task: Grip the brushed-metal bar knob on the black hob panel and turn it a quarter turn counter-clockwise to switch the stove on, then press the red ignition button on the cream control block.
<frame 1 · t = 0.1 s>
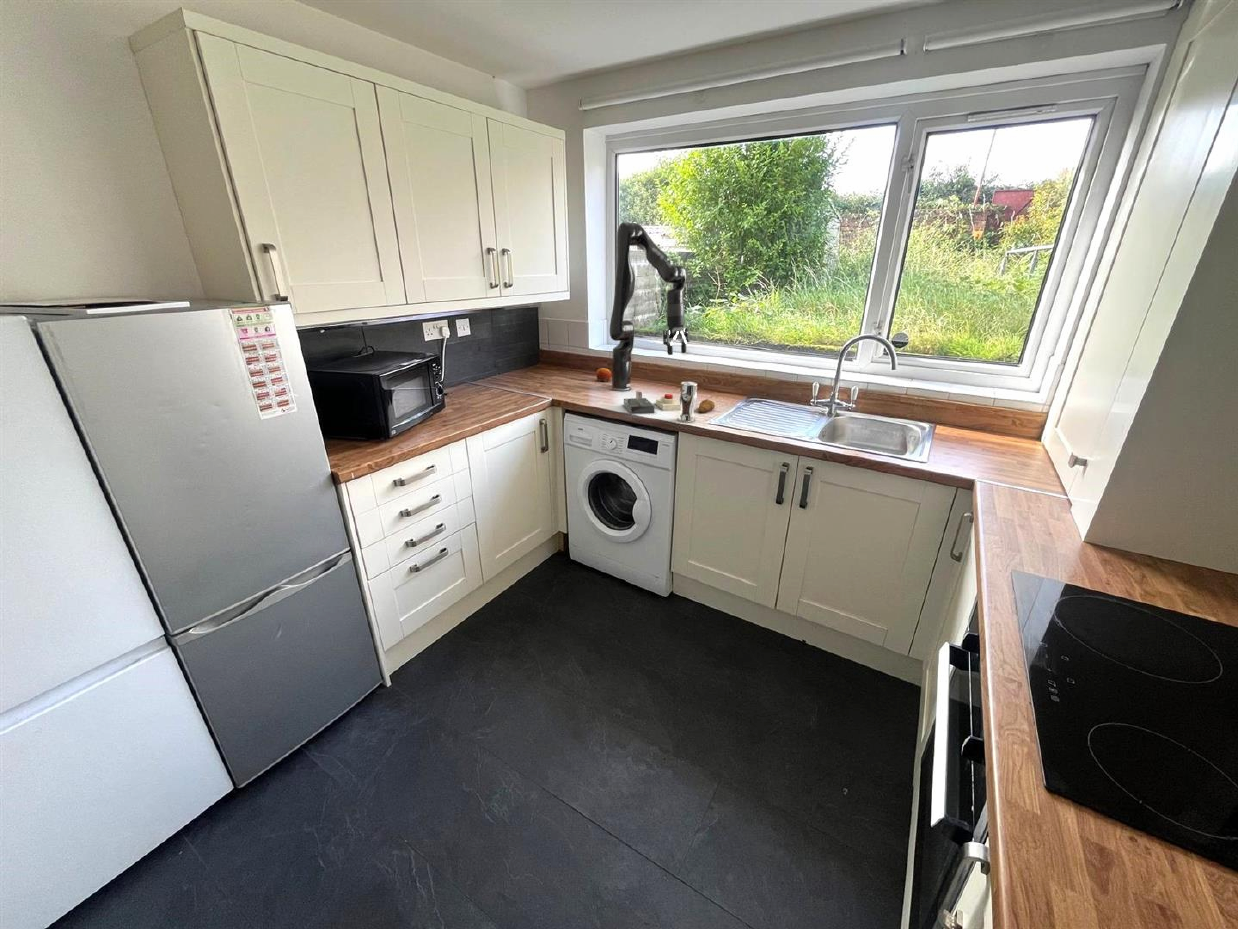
hand: (677, 353, 216), 22 cm above the countertop, tool pointing down, fingers open, 8 cm apart
beer glass: (686, 420, 201), on the countertop
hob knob: (638, 396, 213), point 5 cm above the countertop, hinge at 0.0°
ignition block: (667, 406, 220), on the countertop
hob panel: (638, 409, 215), on the countertop
brown lumpy oval piece: (706, 410, 216), on the countertop
fruit: (603, 381, 267), on the countertop
ignition button: (668, 396, 218), point 4 cm above the countertop, slide at 0.1 cm
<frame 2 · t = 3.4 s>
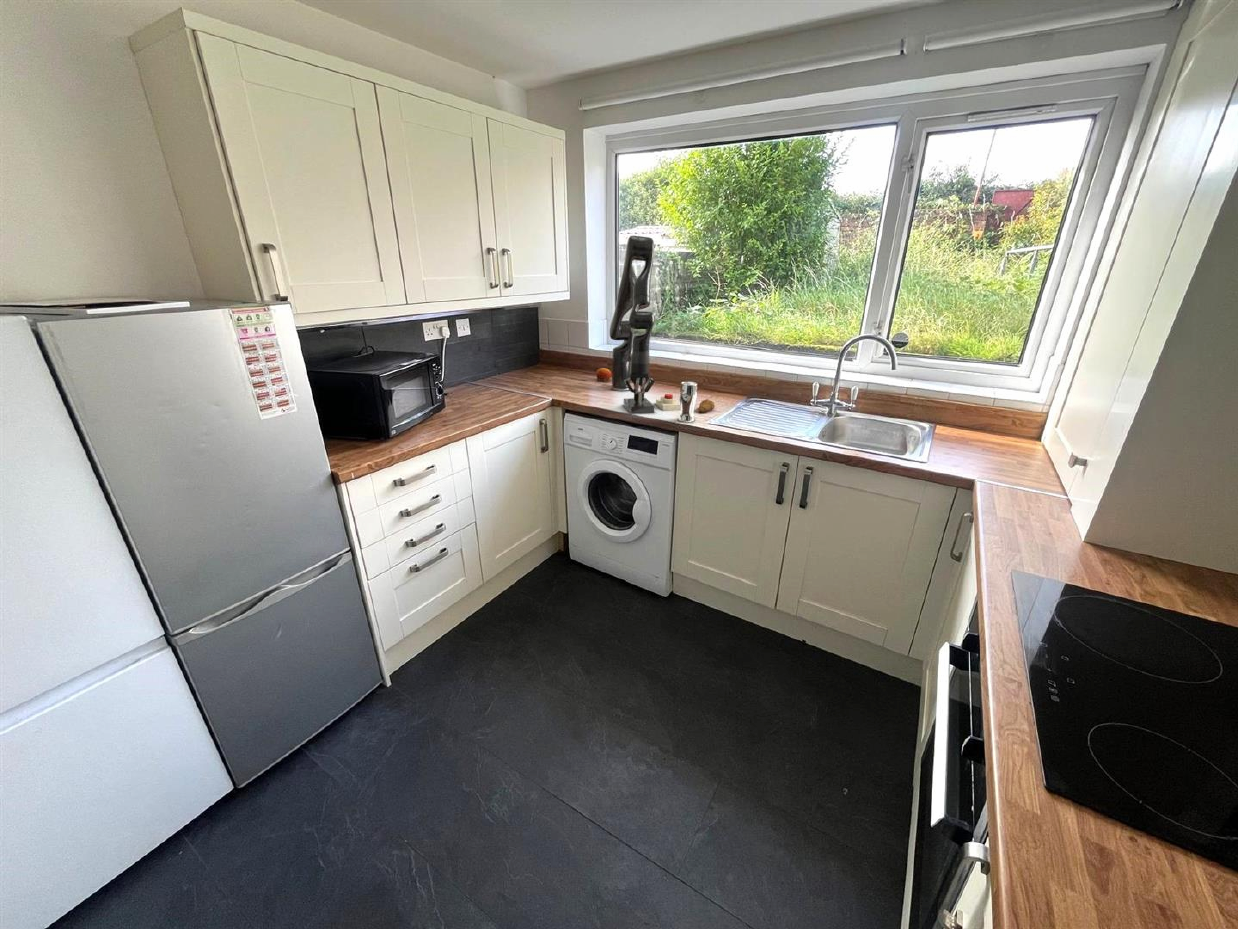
hand: (638, 401, 214), 3 cm above the countertop, tool pointing down, fingers closed
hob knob: (638, 396, 213), point 5 cm above the countertop, hinge at 0.0°, touching gripper
everything else where it was.
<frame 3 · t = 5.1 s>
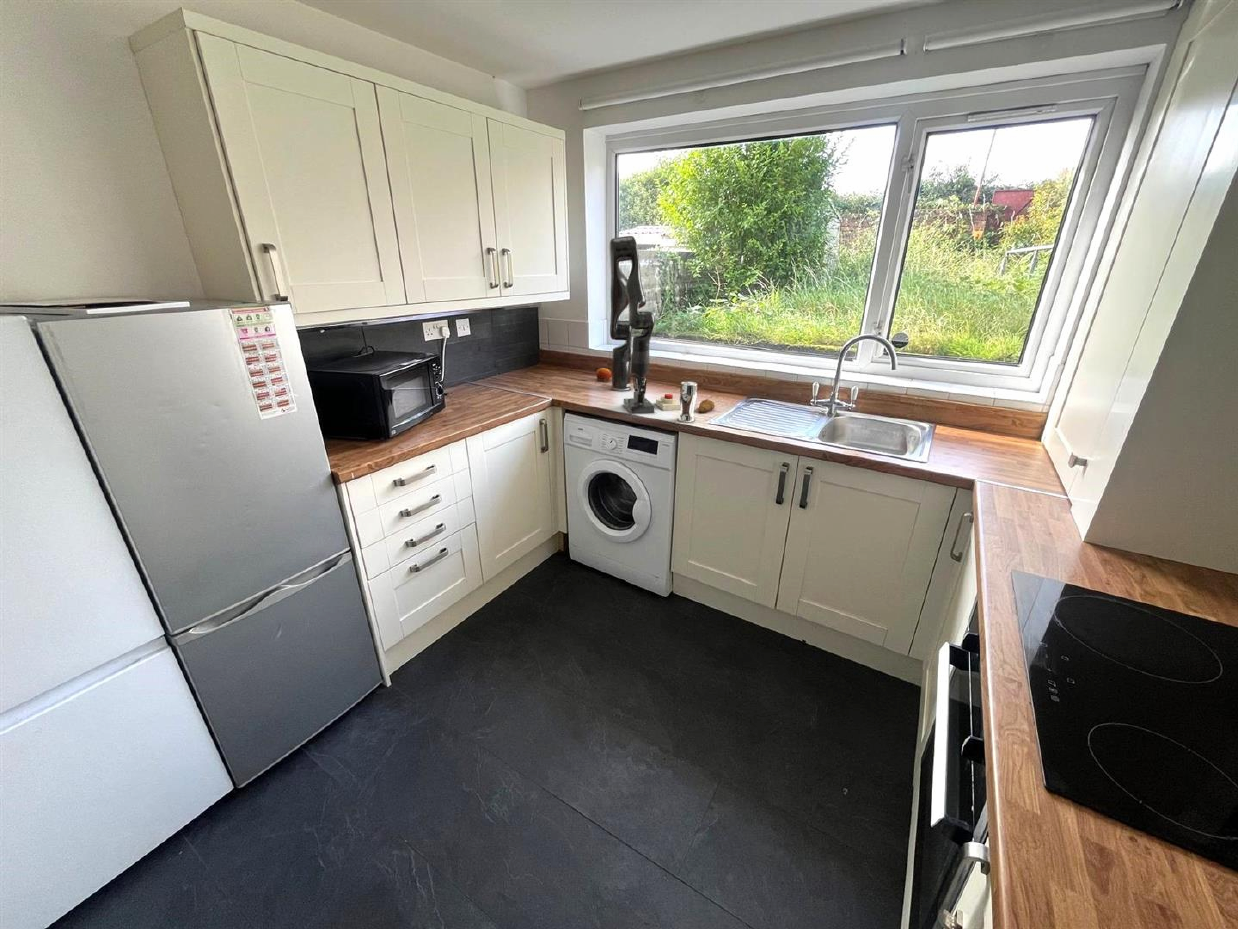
hand: (638, 401, 214), 4 cm above the countertop, tool pointing down, fingers open, 4 cm apart
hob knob: (638, 396, 213), point 5 cm above the countertop, hinge at 89.9°
everything else where it was.
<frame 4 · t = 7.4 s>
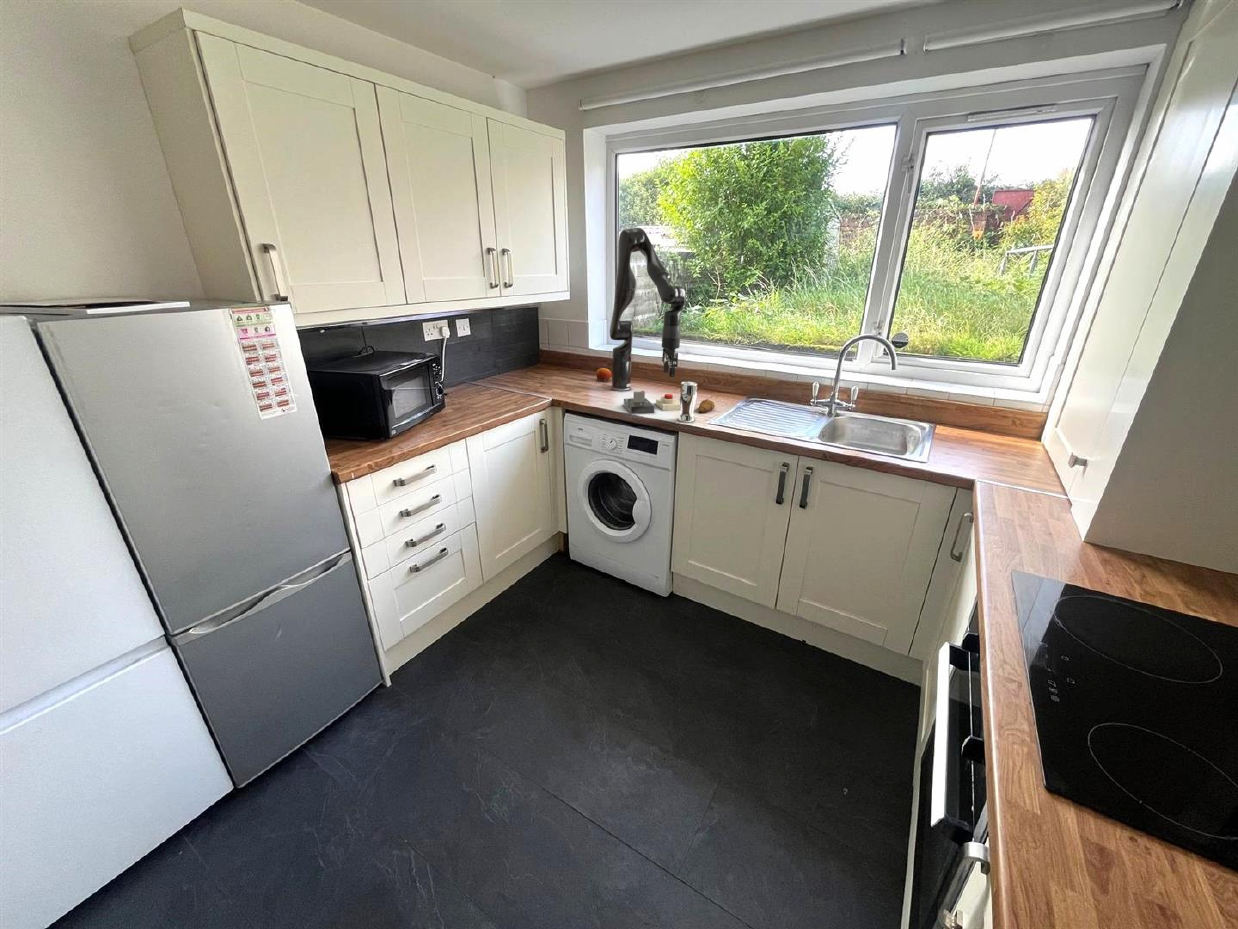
hand: (668, 374, 214), 14 cm above the countertop, tool pointing down, fingers open, 8 cm apart
nothing on the countertop moved.
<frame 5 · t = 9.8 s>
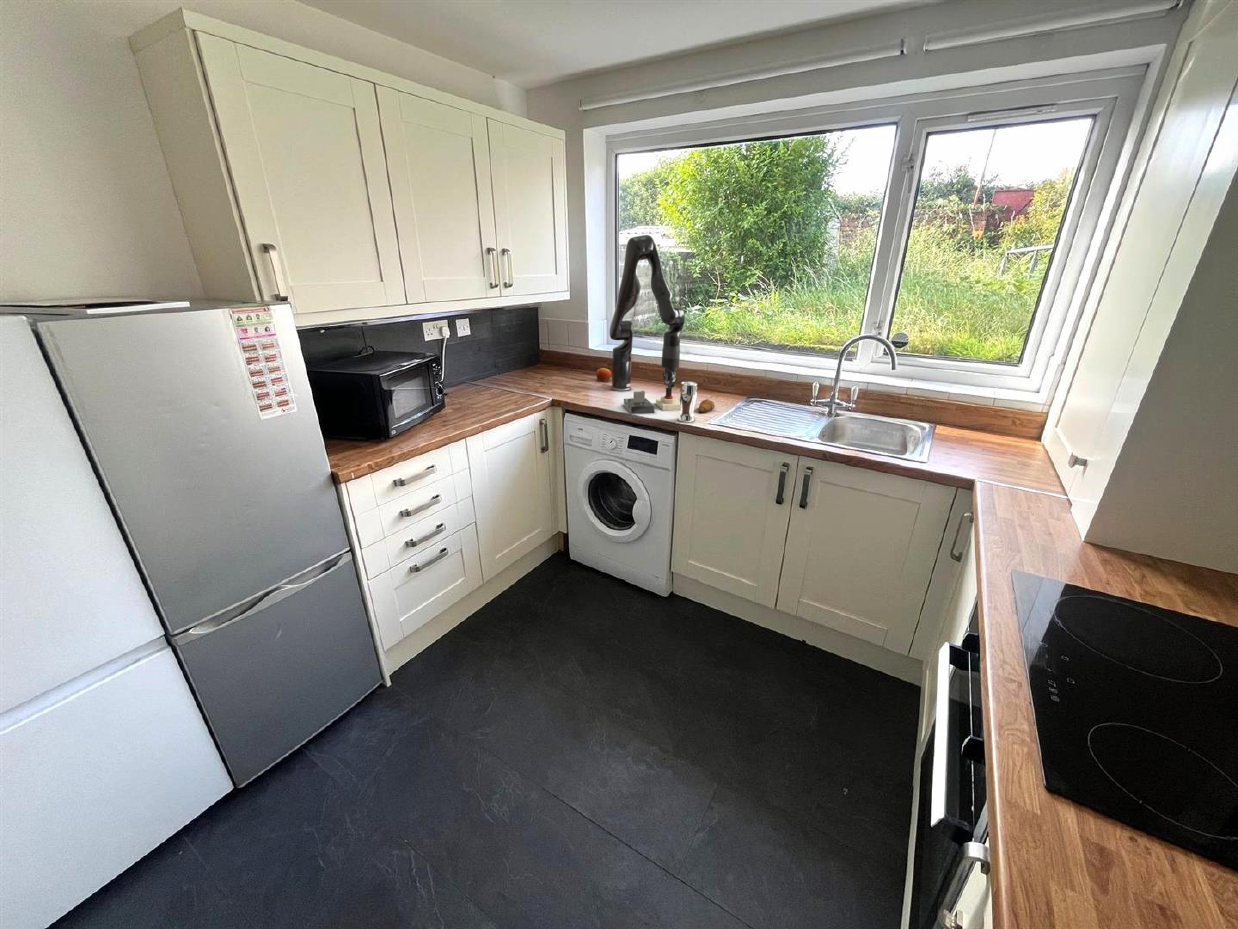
hand: (668, 396, 218), 5 cm above the countertop, tool pointing down, fingers closed
ignition button: (668, 398, 218), point 4 cm above the countertop, slide at -0.5 cm, touching gripper
everything else where it was.
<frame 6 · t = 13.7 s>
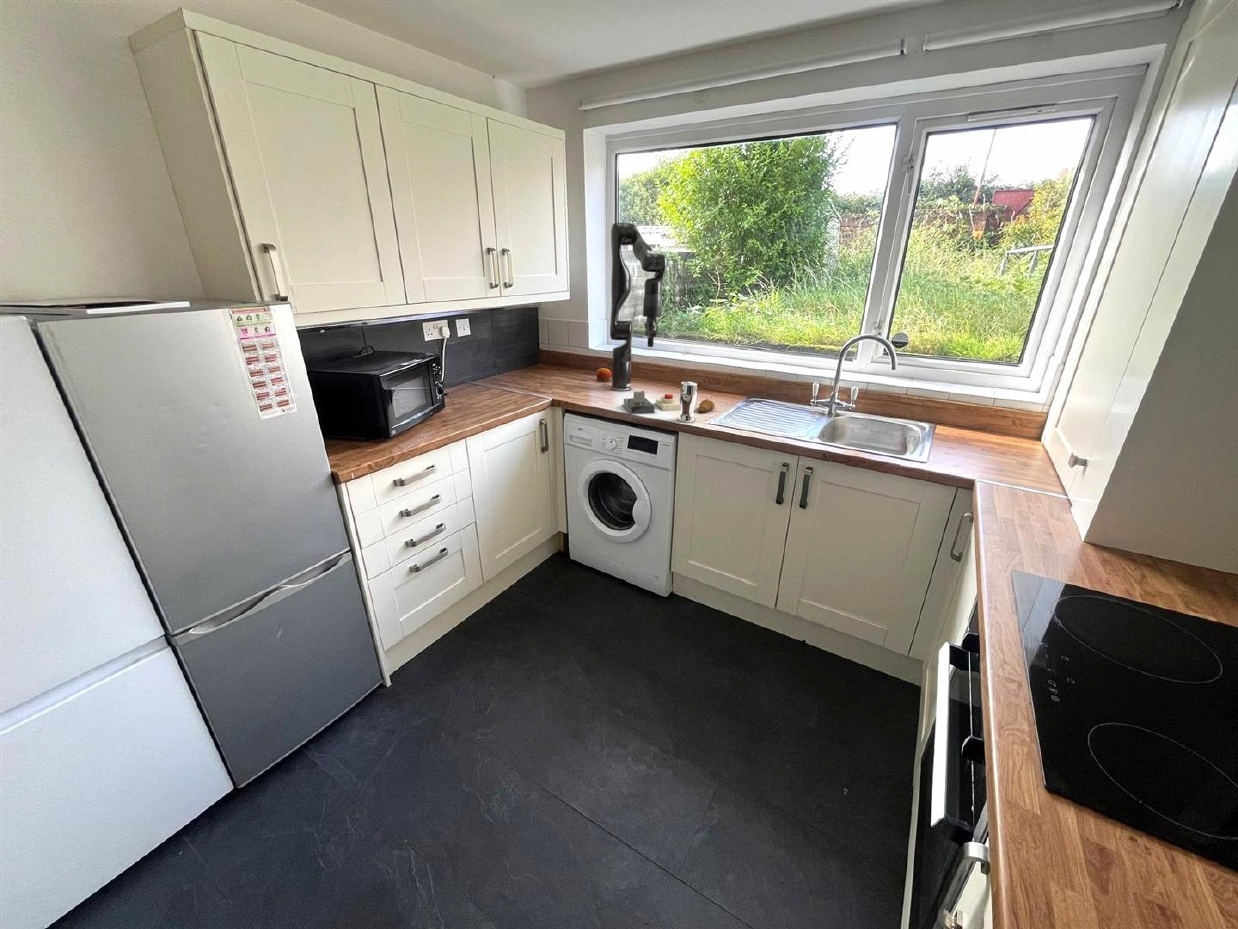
hand: (650, 346, 216), 25 cm above the countertop, tool pointing down, fingers closed
ignition button: (668, 396, 218), point 4 cm above the countertop, slide at 0.1 cm
everything else where it was.
at the end: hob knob at +90° (first picture: +0°); ignition button pushed in 1.1 cm at the most during the clip, back to where it started at the end; ignition button slide at 0.1 cm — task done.
